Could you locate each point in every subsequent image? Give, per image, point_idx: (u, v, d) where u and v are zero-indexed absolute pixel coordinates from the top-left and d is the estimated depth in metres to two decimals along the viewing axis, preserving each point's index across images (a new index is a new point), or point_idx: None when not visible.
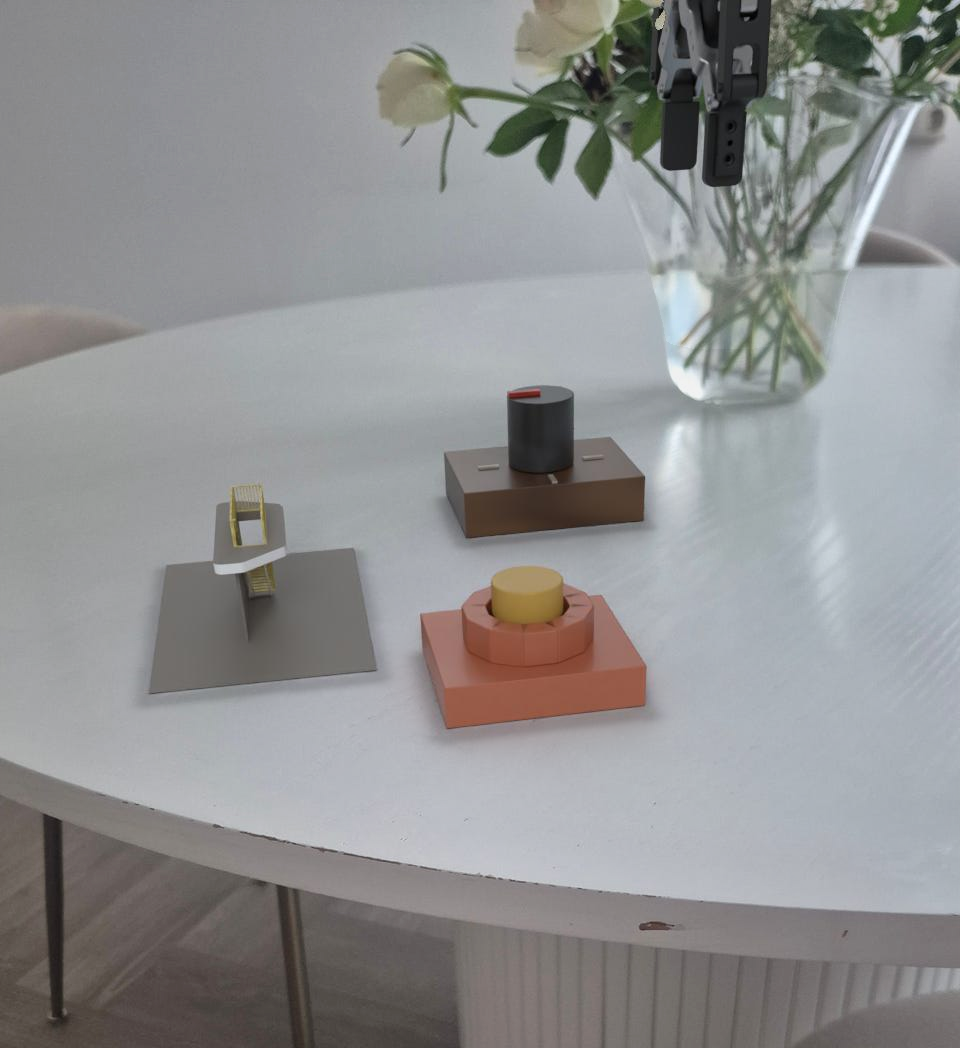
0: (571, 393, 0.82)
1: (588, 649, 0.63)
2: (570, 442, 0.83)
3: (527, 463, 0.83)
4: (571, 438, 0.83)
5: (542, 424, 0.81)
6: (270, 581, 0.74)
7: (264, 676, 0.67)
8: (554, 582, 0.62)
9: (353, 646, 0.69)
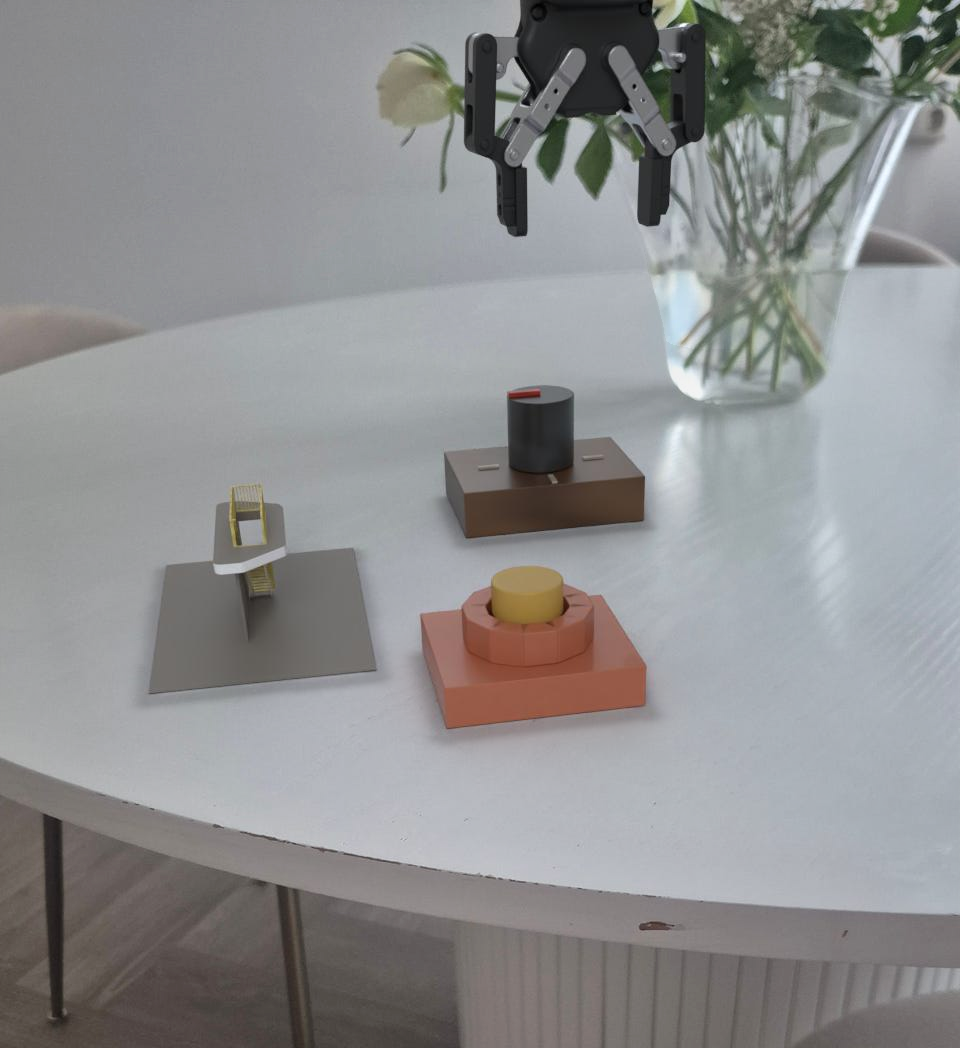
0: (571, 393, 0.82)
1: (588, 649, 0.63)
2: (570, 442, 0.83)
3: (527, 463, 0.83)
4: (571, 438, 0.83)
5: (542, 424, 0.81)
6: (270, 581, 0.74)
7: (264, 676, 0.67)
8: (554, 582, 0.62)
9: (353, 646, 0.69)
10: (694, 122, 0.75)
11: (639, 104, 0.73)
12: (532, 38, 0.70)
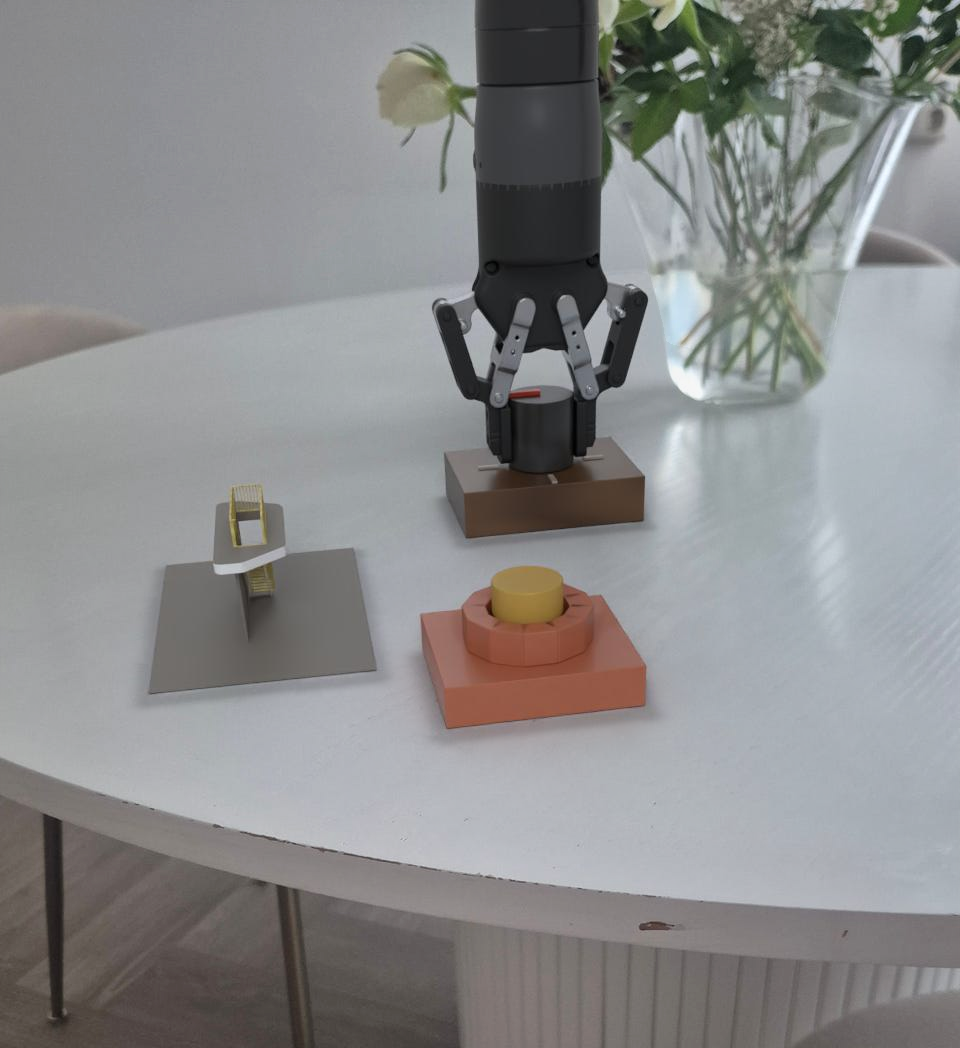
0: (571, 393, 0.82)
1: (588, 649, 0.63)
2: (570, 442, 0.83)
3: (527, 463, 0.83)
4: (571, 438, 0.83)
5: (542, 424, 0.81)
6: (270, 581, 0.74)
7: (263, 676, 0.67)
8: (554, 582, 0.62)
9: (353, 646, 0.69)
10: (617, 371, 0.81)
11: (574, 349, 0.80)
12: (486, 289, 0.77)
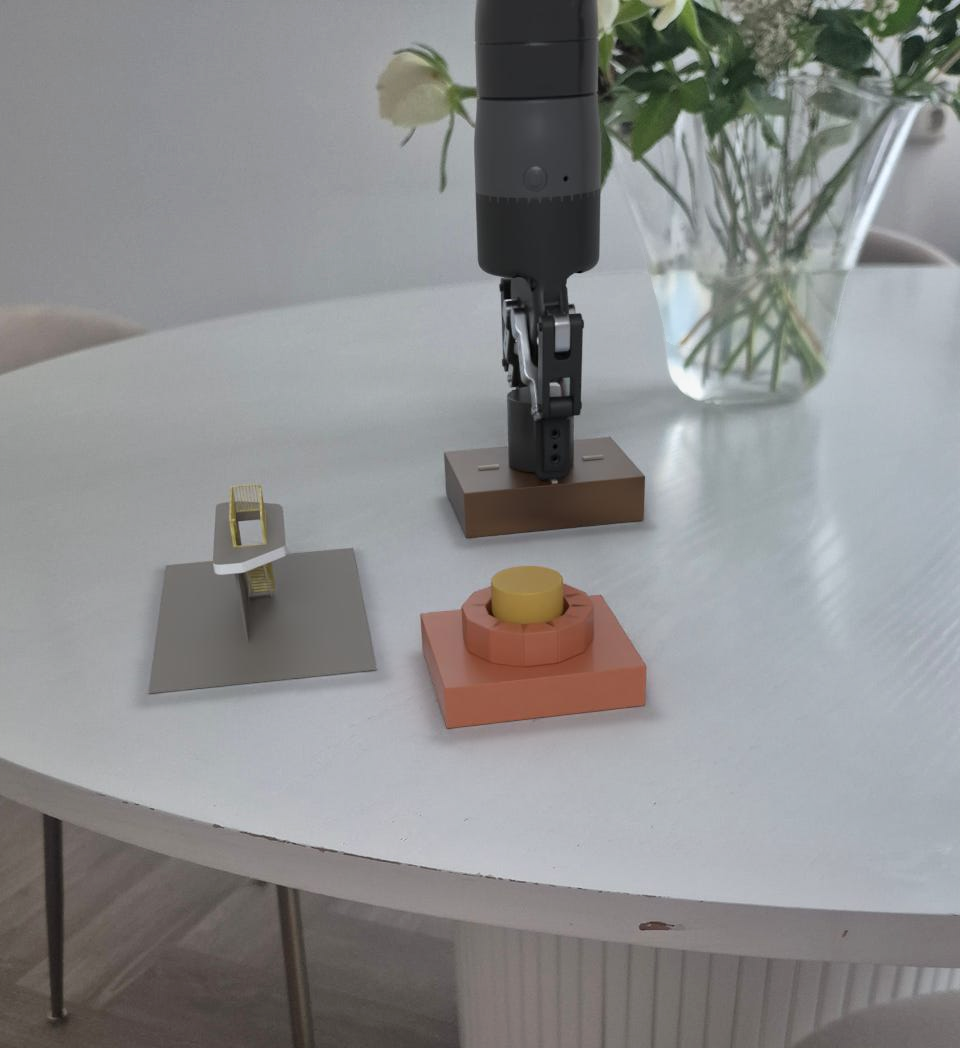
0: None
1: (588, 649, 0.63)
2: None
3: (571, 456, 0.84)
4: None
5: None
6: (270, 581, 0.74)
7: (263, 676, 0.67)
8: (554, 582, 0.62)
9: (353, 646, 0.69)
10: None
11: None
12: (567, 303, 0.76)
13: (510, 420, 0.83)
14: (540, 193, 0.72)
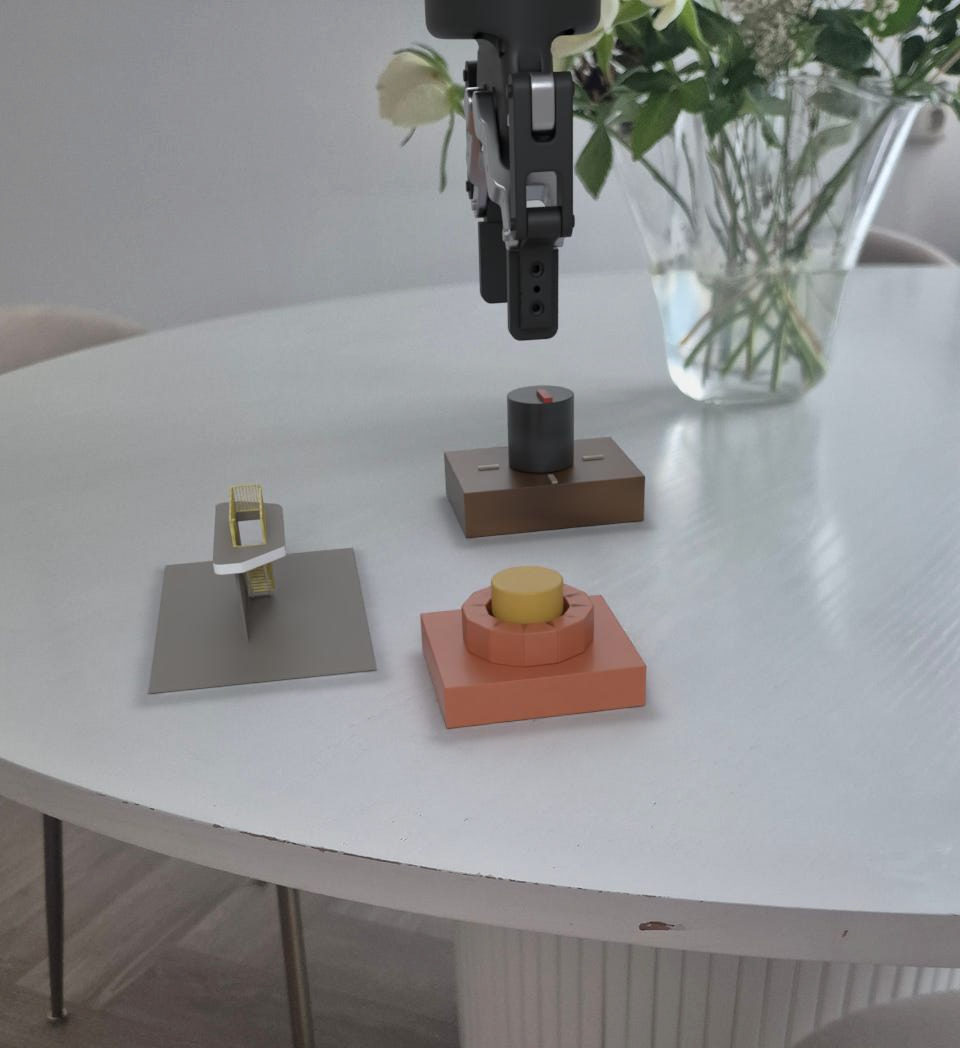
0: (539, 385, 0.84)
1: (588, 649, 0.63)
2: None
3: (571, 456, 0.84)
4: None
5: None
6: (269, 581, 0.74)
7: (263, 676, 0.67)
8: (554, 582, 0.62)
9: (353, 646, 0.69)
10: None
11: None
12: None
13: (510, 420, 0.83)
14: None
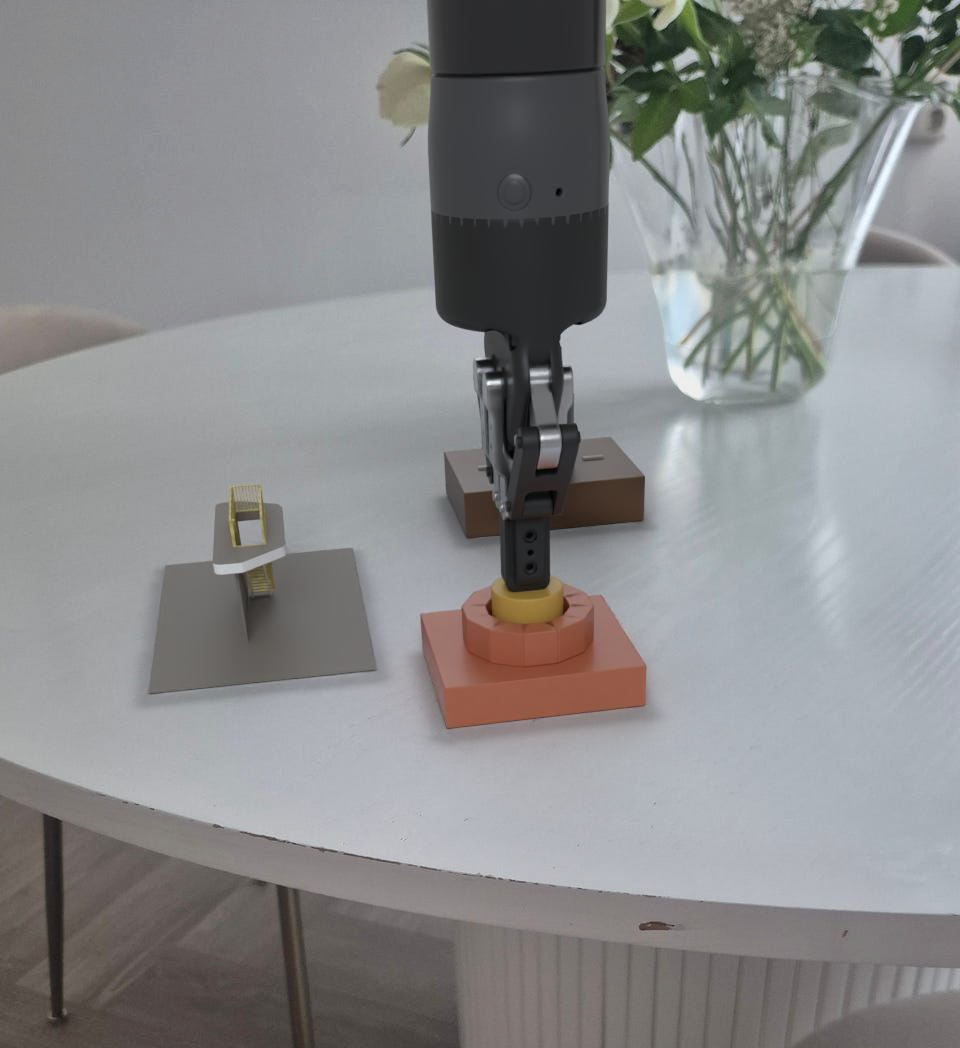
0: None
1: (588, 649, 0.63)
2: None
3: None
4: None
5: None
6: (269, 581, 0.74)
7: (263, 676, 0.67)
8: (554, 588, 0.62)
9: (353, 646, 0.69)
10: None
11: None
12: None
13: None
14: (522, 213, 0.50)
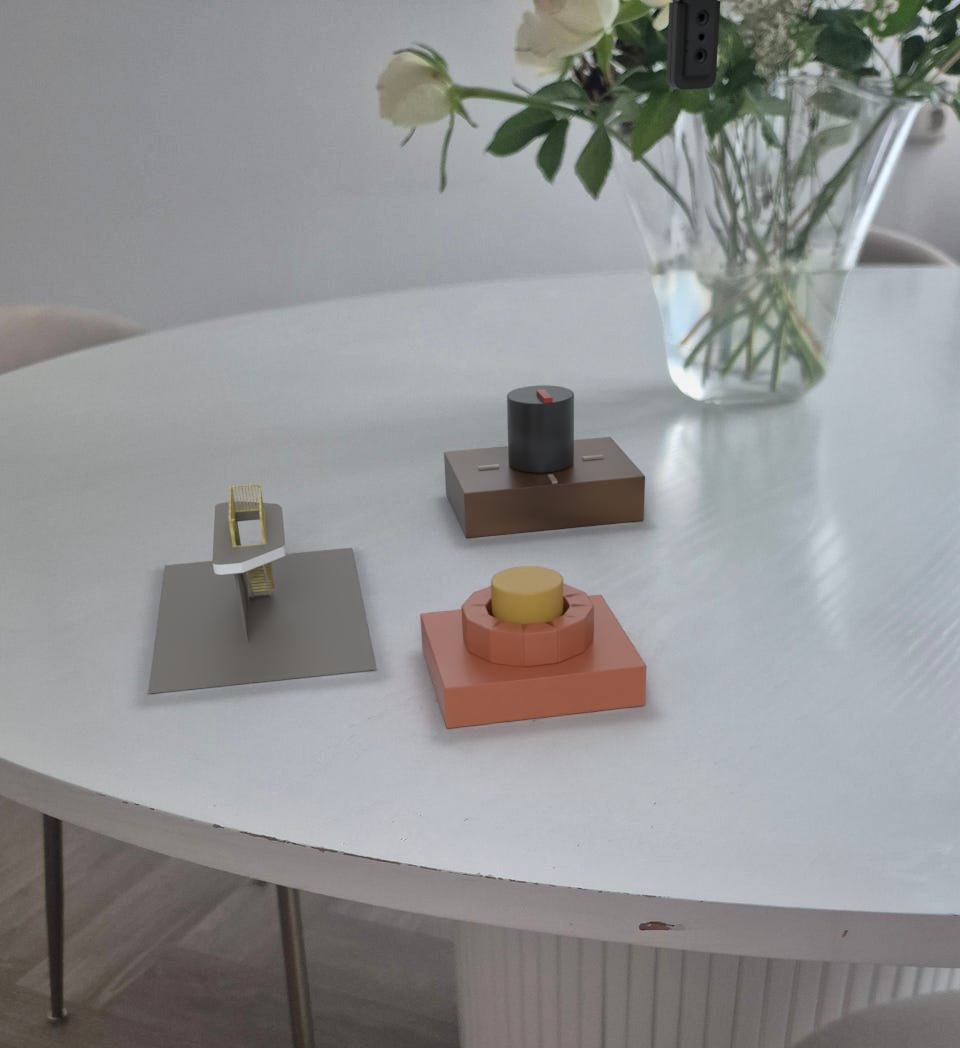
0: (539, 385, 0.84)
1: (588, 649, 0.63)
2: None
3: (571, 456, 0.84)
4: None
5: None
6: (269, 581, 0.74)
7: (263, 676, 0.67)
8: (554, 582, 0.62)
9: (353, 646, 0.69)
10: None
11: None
12: None
13: (510, 420, 0.83)
14: None
